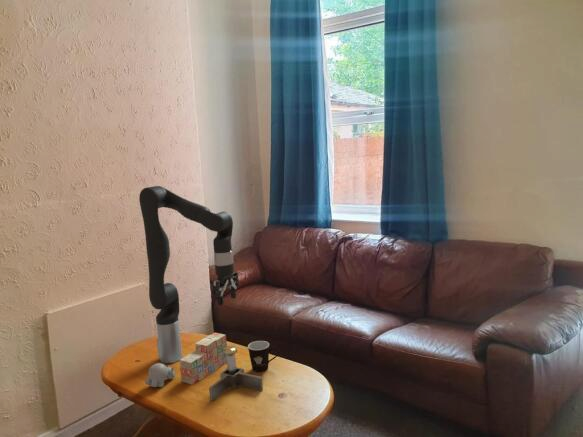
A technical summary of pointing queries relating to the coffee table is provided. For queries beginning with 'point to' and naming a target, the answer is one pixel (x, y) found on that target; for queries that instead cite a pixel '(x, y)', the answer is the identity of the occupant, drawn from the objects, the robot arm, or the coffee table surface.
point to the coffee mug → (260, 355)
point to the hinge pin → (230, 359)
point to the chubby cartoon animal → (159, 375)
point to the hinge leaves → (234, 382)
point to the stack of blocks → (204, 358)
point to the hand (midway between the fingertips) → (227, 301)
